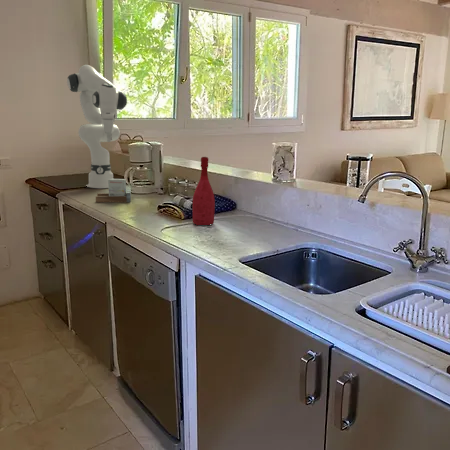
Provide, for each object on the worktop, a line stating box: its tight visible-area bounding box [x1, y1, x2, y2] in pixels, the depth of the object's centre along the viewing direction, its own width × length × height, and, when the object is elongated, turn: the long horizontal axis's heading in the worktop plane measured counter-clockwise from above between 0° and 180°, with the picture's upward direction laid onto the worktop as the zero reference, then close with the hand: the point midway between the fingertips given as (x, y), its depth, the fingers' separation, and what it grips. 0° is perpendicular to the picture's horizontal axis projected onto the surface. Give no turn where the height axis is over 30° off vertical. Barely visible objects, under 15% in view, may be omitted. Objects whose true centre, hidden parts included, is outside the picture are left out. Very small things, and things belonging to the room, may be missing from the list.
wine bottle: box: [192, 156, 216, 226], centre depth 204 cm, size 10×10×30 cm
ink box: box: [108, 178, 127, 196], centre depth 251 cm, size 9×5×12 cm, turn 87°
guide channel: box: [95, 189, 132, 203], centre depth 252 cm, size 10×18×5 cm, turn 100°
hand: (109, 141), depth 254 cm, fingers open, 8 cm apart
